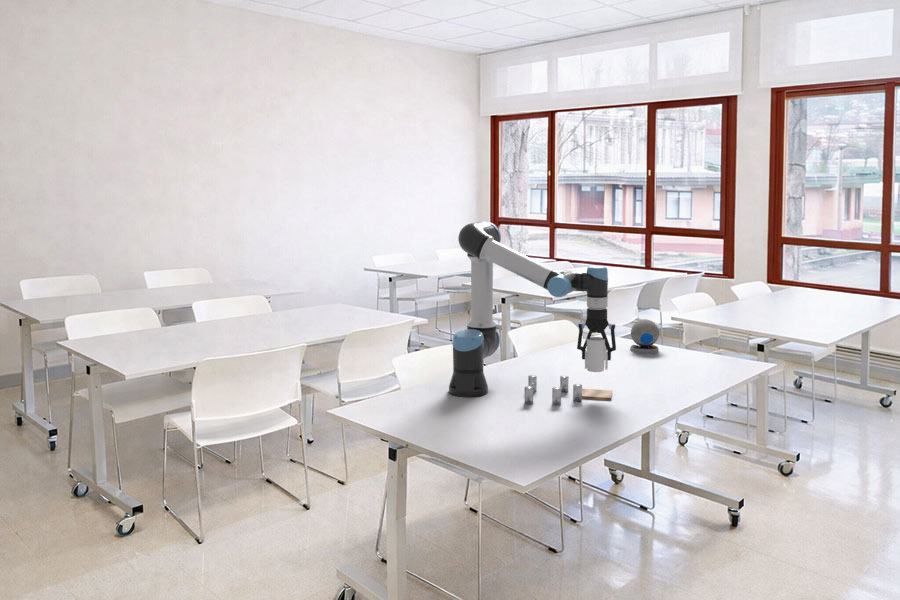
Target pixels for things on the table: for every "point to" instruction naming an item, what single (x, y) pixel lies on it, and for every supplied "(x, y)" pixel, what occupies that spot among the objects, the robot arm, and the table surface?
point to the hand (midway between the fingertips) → (596, 368)
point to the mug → (596, 354)
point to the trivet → (596, 394)
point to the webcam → (644, 336)
